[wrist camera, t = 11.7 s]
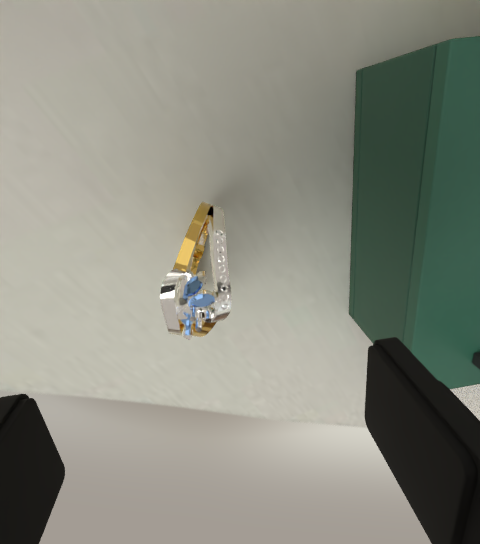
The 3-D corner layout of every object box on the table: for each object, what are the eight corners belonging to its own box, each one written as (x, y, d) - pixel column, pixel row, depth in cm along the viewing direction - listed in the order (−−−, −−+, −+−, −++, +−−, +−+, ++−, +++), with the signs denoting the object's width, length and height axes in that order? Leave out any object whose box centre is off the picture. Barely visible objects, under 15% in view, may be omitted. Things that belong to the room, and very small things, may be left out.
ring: (203, 299, 23) (207, 379, 16) (156, 287, 22) (138, 365, 15) (238, 202, 21) (262, 243, 14) (187, 184, 20) (183, 218, 13)
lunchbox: (496, 290, 26) (591, 343, 20) (348, 314, 25) (399, 376, 19) (550, 49, 20) (715, 15, 13) (356, 70, 19) (435, 43, 13)
